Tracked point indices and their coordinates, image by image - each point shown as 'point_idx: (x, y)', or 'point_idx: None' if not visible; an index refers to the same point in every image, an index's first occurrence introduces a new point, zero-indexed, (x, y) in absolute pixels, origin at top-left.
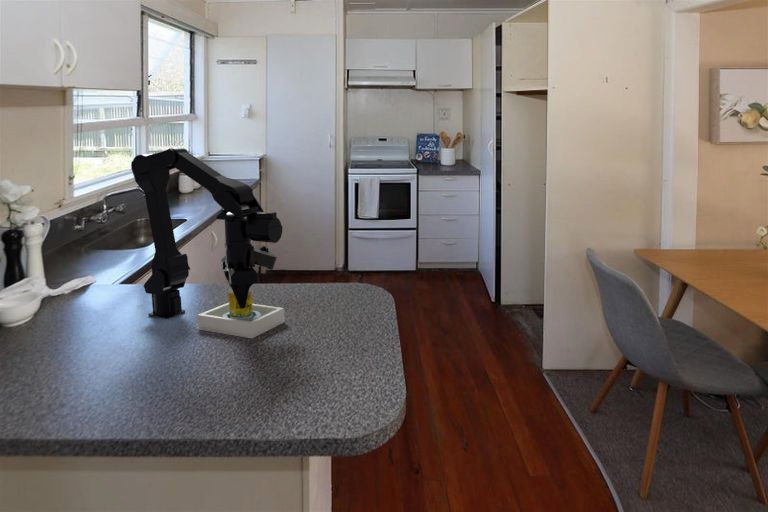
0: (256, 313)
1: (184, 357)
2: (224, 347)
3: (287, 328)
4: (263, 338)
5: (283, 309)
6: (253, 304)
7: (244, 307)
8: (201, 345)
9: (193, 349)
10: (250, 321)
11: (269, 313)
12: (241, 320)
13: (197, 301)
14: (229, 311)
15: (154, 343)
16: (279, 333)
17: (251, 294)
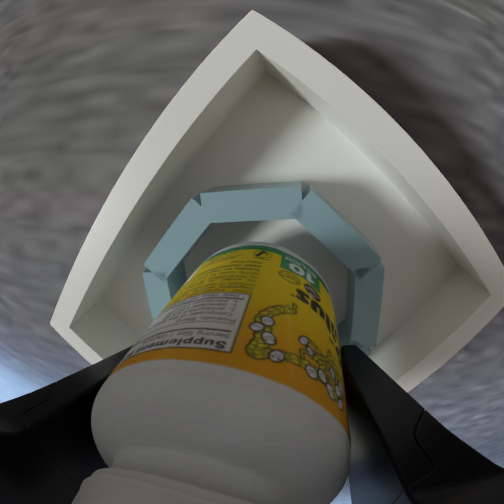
0: (246, 215)
1: (488, 433)
2: (498, 359)
3: (386, 51)
4: (494, 208)
5: (258, 16)
6: (105, 228)
7: (355, 350)
8: (439, 418)
9: (455, 429)
10: (490, 293)
11: (380, 133)
12: (449, 340)
13: (3, 355)
14: (116, 332)
15: (349, 491)
16: (455, 114)
17: (268, 342)
